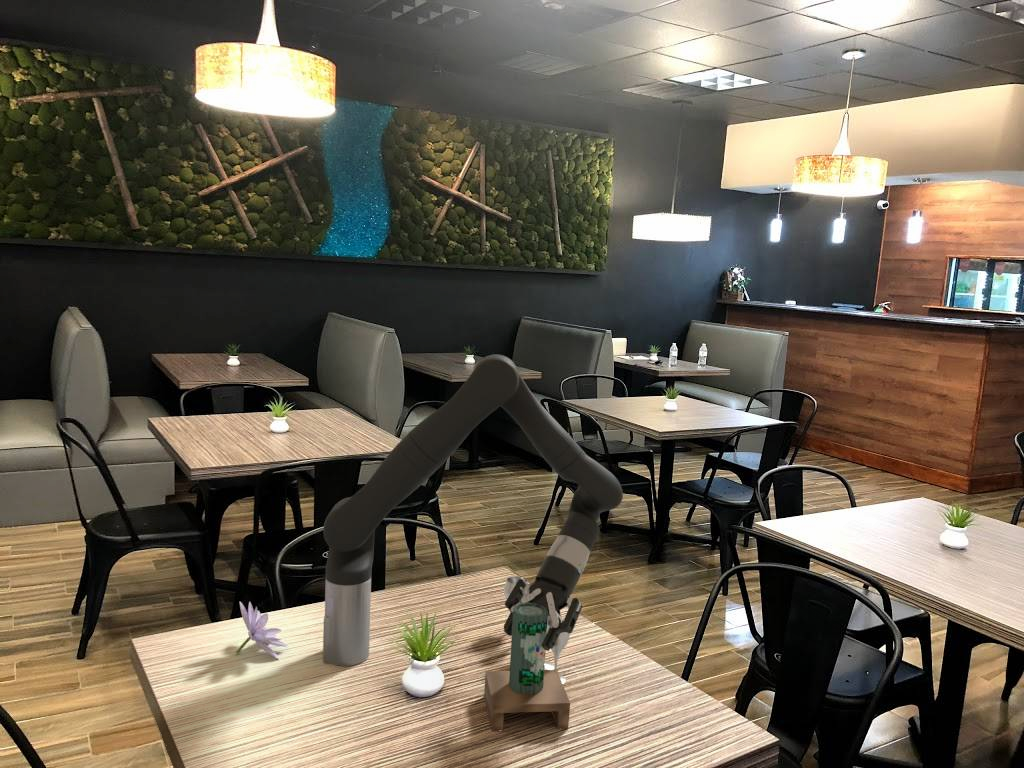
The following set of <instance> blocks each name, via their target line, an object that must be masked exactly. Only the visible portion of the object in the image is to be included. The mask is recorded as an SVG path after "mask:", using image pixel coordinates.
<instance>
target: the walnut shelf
mask: <svg viewBox="0 0 1024 768" xmlns="http://www.w3.org/2000/svg"><path fill="white" fill-rule="evenodd" d="M509 675H510V670H487V671H485V674H484V692H483V693H484V694H483V697H484V701H485V705H486V710H487V716H488V721H489V725H491V726H490V730H491V732H500V731H499V730H503V731H504V715H505V714H511V713H535V712H536V713H539V712H541V713H542V712H551V711H552V712H551V714H552V716H553V721H554V723H555V725H557V726H556V729H557V728H558V729H557V730H566V729H565V728H568V729H569V726H570V724H569V723H570V710H571V702H570V699H569V696H568V694H567V692H566V689H565V686H564V683H563V684H562V681H561V679H560V676H559V675H560V674H559V672H558V669H556V670H554V669H553V670H544V682H543V688H542V690H541V691H540V692H538V693H536V694H534V693H533V694H531V695H530V694H528V695H527V694H525V695H524V694H522V693H520V694H519V693H517V692H515V691H513V690H511V688H510V687H509ZM560 728H562V729H560Z"/></svg>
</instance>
